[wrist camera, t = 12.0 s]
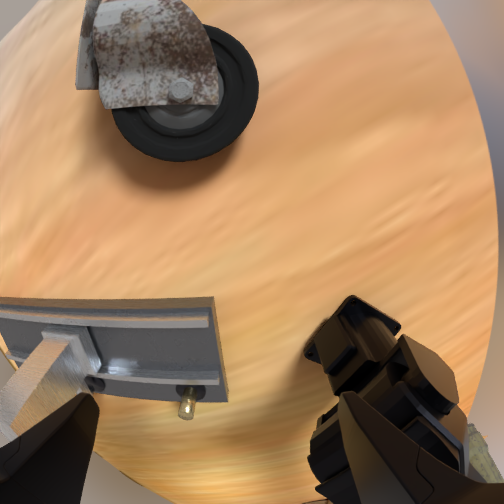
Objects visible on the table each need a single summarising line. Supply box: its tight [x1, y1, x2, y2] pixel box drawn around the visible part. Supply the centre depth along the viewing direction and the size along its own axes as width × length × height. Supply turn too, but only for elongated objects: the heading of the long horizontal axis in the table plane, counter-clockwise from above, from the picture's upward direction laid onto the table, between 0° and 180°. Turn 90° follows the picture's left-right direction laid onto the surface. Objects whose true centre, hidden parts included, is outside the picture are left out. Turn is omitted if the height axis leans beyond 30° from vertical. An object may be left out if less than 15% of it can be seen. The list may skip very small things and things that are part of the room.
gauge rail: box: [0, 297, 229, 420], centre depth 20 cm, size 26×10×4 cm, turn 94°
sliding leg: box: [0, 324, 102, 442], centre depth 15 cm, size 4×7×11 cm, turn 4°
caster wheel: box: [75, 0, 259, 162], centre depth 13 cm, size 7×11×10 cm
